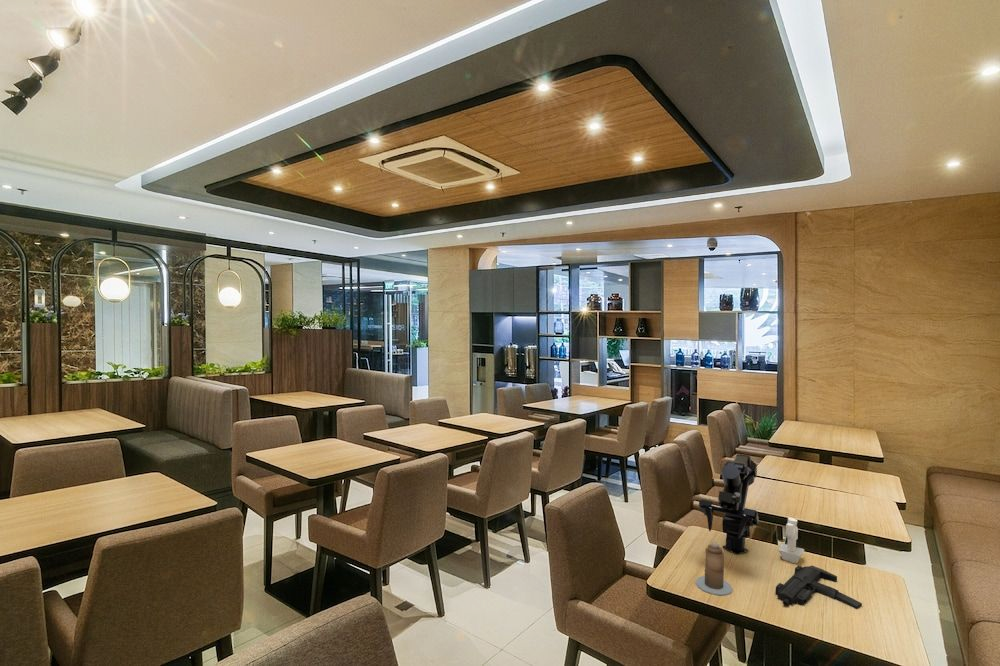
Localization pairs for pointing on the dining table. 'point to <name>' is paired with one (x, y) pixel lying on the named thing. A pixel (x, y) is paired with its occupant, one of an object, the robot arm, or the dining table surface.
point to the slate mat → (724, 591)
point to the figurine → (791, 543)
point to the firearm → (810, 587)
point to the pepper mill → (714, 566)
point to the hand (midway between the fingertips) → (723, 534)
